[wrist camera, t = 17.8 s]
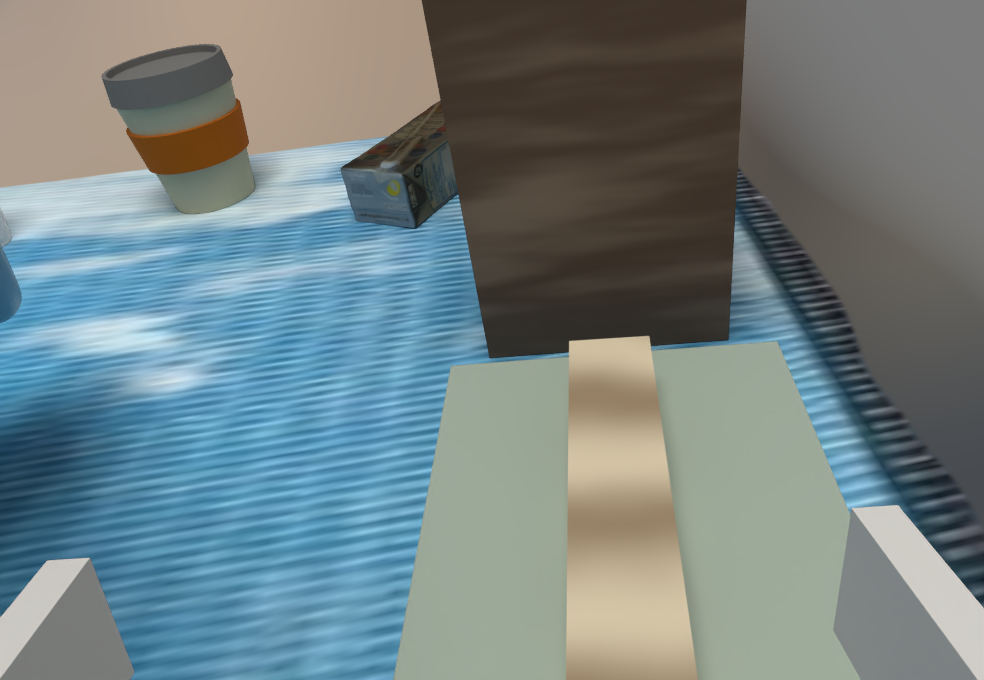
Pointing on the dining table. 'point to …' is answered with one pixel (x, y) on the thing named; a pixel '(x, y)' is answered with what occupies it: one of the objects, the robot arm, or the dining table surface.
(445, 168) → the beverage carton
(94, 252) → the dining table surface
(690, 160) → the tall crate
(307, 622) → the dining table surface
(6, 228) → the foam cup
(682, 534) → the grey-green flat box
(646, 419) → the pine slat
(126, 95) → the reusable coffee cup
